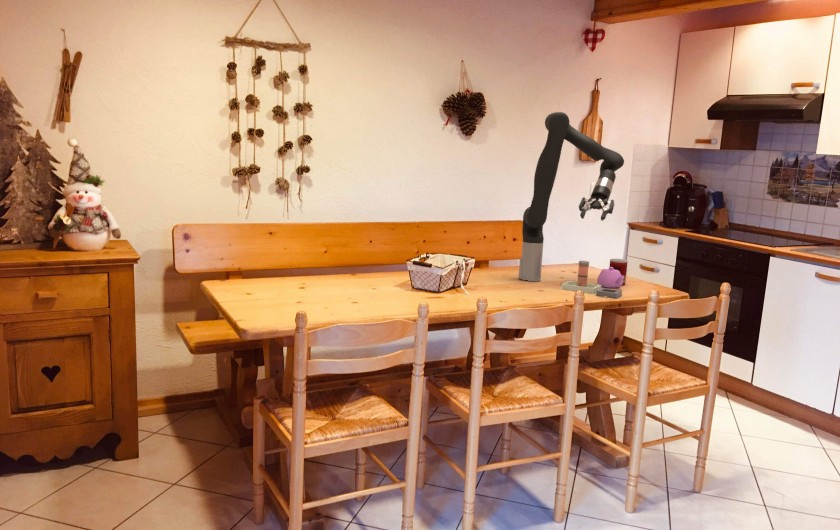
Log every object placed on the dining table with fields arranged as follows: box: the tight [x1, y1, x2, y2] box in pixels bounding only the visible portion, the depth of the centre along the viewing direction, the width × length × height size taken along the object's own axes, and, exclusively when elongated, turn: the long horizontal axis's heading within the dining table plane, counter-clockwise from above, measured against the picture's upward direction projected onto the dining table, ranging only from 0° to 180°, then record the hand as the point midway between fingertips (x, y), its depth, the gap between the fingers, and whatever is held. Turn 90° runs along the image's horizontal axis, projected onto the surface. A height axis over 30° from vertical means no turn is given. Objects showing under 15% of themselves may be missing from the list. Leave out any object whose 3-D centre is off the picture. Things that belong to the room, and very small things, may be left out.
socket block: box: [594, 287, 623, 300], centre depth 288 cm, size 9×11×3 cm
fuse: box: [576, 260, 590, 287], centre depth 297 cm, size 4×4×12 cm
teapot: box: [596, 267, 624, 289], centre depth 307 cm, size 10×15×9 cm
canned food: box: [608, 258, 628, 286], centre depth 319 cm, size 8×8×11 cm
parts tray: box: [560, 280, 602, 295], centre depth 298 cm, size 14×10×3 cm
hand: (591, 218), depth 299 cm, fingers open, 8 cm apart
